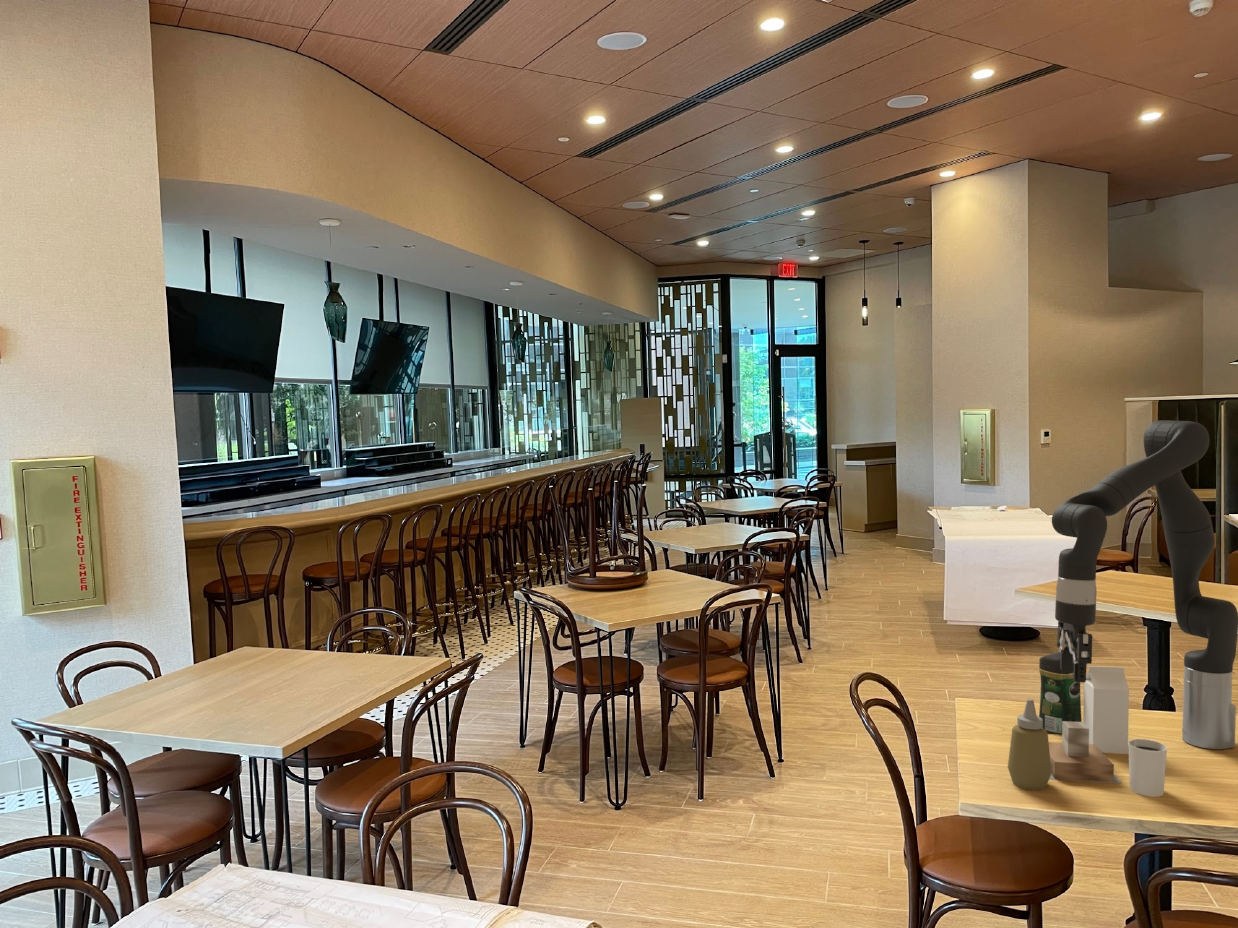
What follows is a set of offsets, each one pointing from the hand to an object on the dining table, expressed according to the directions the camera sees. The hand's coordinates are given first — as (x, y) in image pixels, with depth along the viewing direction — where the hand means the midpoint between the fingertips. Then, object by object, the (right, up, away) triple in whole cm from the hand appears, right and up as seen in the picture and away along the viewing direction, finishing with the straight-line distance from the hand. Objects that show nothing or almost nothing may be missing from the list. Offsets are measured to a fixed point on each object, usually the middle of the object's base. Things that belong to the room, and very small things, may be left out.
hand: (1072, 676), depth 187 cm
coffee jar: (+10, -19, +25) cm, 33 cm away
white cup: (+10, -21, -10) cm, 25 cm away
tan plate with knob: (+1, -20, +1) cm, 20 cm away
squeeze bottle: (-12, -21, -6) cm, 25 cm away
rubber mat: (+1, -21, +1) cm, 21 cm away
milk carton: (+14, -20, +12) cm, 27 cm away
